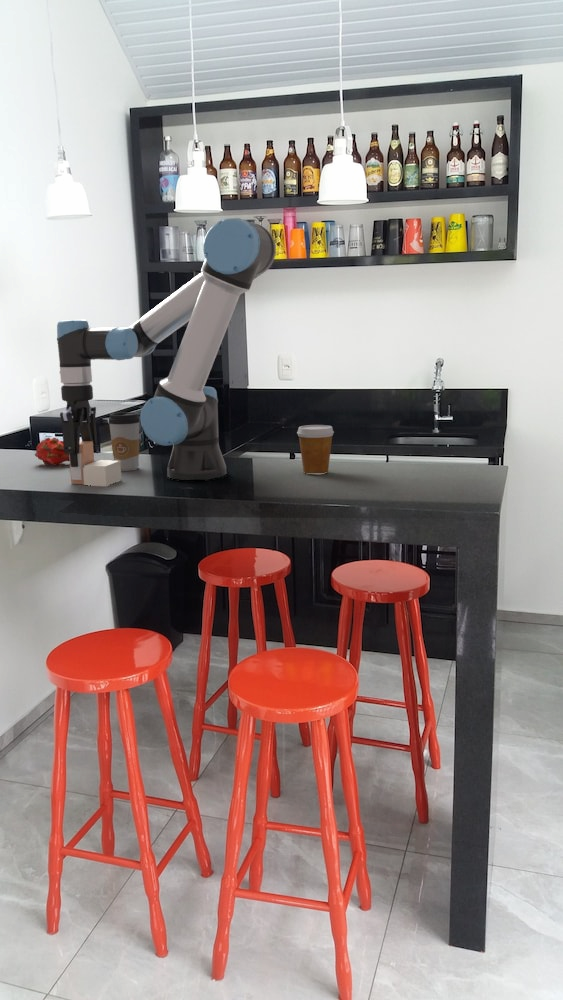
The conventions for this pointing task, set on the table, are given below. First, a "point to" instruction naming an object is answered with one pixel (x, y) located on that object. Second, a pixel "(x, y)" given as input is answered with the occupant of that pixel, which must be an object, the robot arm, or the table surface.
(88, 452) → the salmon orange rectangular block
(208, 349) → the robot arm
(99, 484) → the cream white block
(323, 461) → the disposable coffee cup
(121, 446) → the coffee cup
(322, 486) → the table surface
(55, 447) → the dragon fruit
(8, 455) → the table surface
